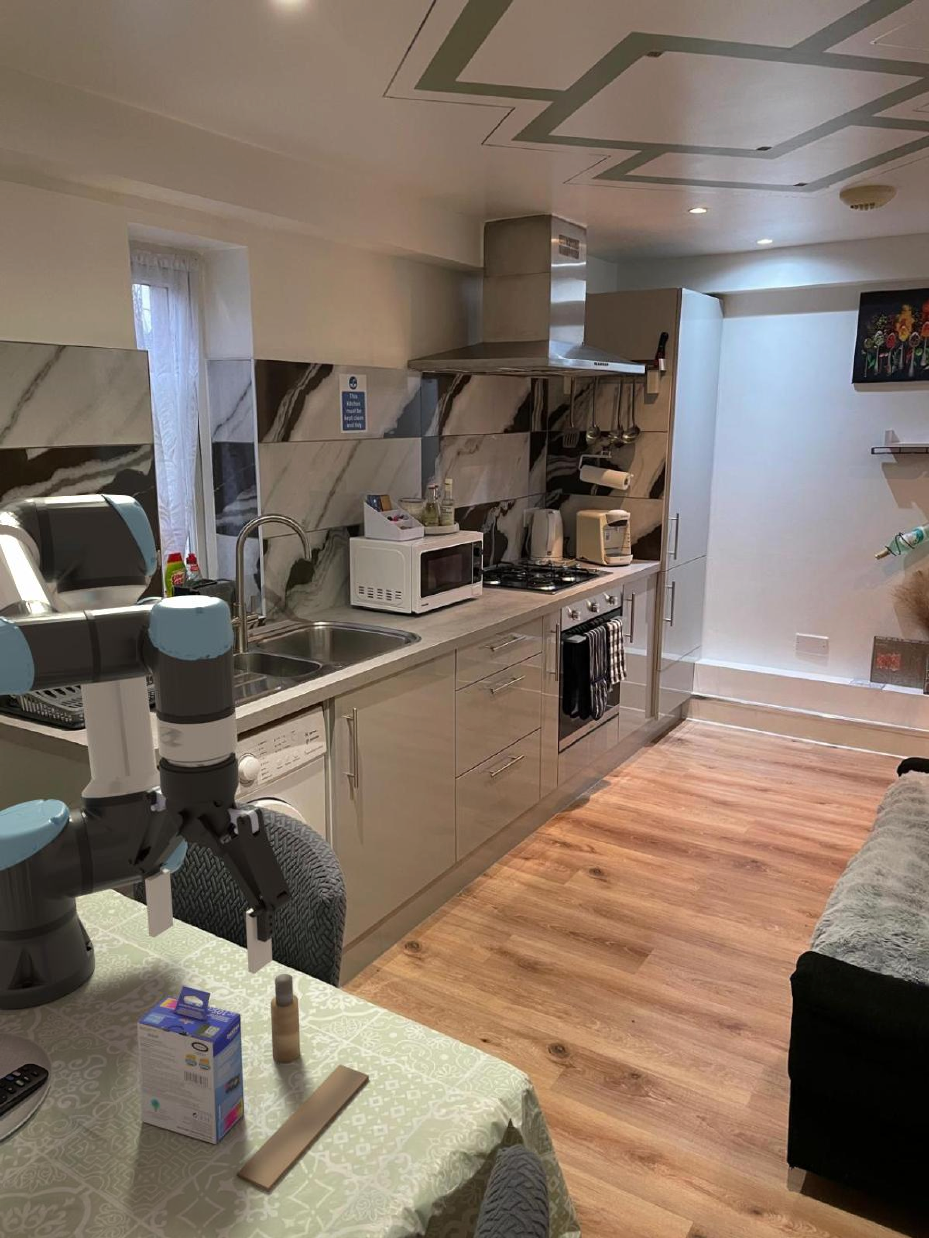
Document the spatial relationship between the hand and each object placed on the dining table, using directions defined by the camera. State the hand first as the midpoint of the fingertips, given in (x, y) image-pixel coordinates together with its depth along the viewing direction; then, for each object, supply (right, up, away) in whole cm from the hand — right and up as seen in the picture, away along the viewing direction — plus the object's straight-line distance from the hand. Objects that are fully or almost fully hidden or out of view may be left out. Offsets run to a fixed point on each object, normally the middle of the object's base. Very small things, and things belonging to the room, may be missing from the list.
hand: (209, 948), depth 96 cm
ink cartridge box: (-3, -20, +4) cm, 21 cm away
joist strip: (+10, -20, +4) cm, 23 cm away
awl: (+5, -18, +15) cm, 24 cm away
